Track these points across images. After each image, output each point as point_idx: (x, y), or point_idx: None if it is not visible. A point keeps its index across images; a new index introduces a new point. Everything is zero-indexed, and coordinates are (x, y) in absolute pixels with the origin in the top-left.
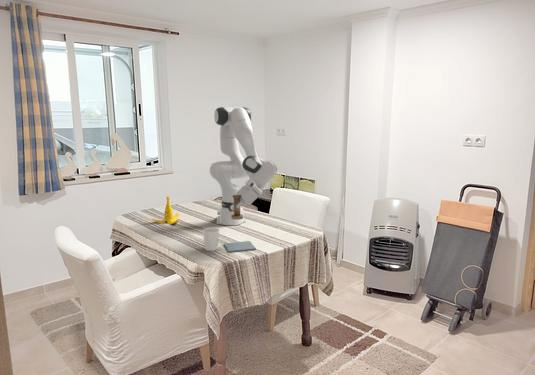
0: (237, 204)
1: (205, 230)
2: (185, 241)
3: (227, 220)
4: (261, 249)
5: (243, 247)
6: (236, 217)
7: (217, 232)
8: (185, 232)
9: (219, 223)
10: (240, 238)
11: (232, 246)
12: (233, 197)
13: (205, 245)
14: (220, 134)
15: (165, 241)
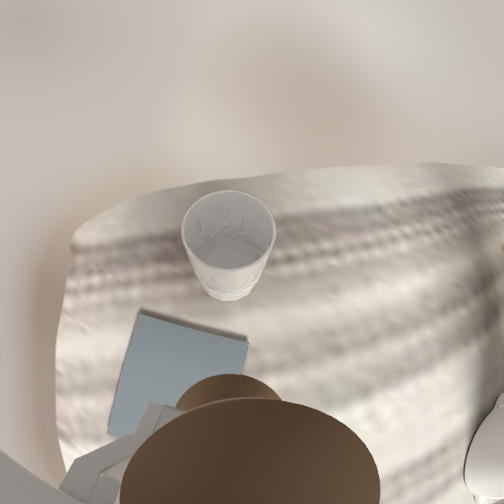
0: (143, 422)
1: (265, 216)
2: (361, 221)
3: (492, 432)
4: None
5: (143, 395)
6: (182, 397)
7: (187, 252)
8: (451, 258)
9: (497, 402)
10: None
11: (184, 358)
12: (225, 399)
13: (225, 236)
14: None
15: (377, 174)
